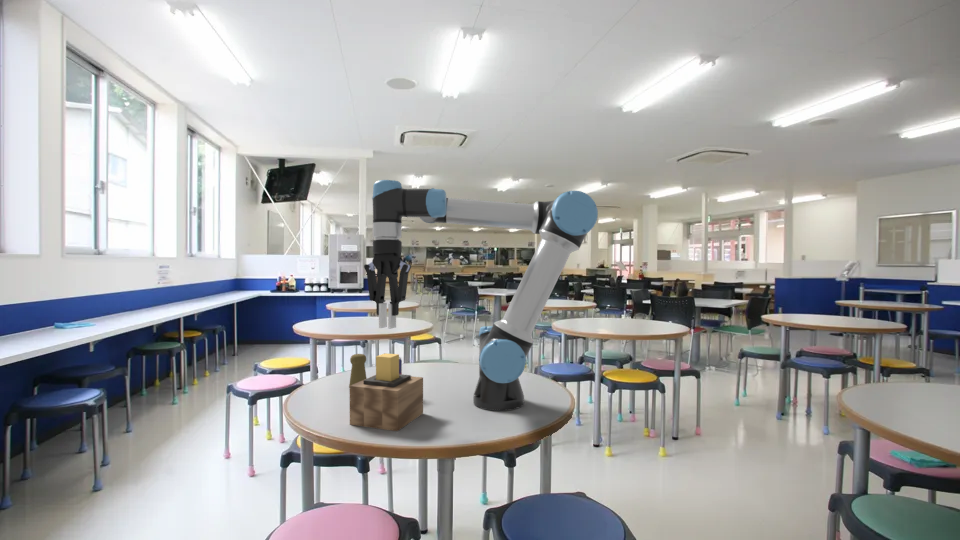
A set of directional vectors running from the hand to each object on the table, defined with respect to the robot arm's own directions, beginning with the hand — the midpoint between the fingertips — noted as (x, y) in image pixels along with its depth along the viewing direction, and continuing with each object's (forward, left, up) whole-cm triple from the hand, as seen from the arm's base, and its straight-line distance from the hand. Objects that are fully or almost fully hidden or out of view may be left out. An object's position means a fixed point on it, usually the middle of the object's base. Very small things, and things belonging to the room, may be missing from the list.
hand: (387, 327), depth 118 cm
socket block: (0, 0, -24) cm, 24 cm away
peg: (0, 0, -16) cm, 16 cm away
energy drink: (+9, -18, -25) cm, 32 cm away
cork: (+26, -24, -25) cm, 43 cm away
